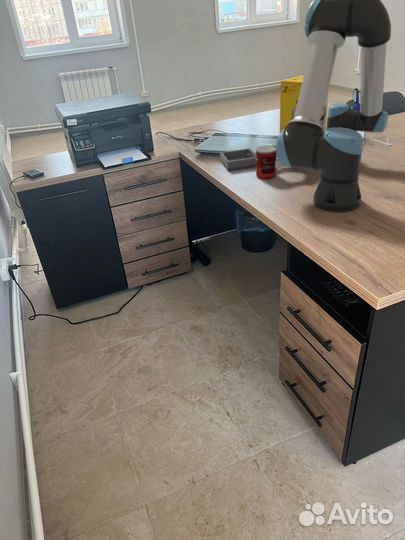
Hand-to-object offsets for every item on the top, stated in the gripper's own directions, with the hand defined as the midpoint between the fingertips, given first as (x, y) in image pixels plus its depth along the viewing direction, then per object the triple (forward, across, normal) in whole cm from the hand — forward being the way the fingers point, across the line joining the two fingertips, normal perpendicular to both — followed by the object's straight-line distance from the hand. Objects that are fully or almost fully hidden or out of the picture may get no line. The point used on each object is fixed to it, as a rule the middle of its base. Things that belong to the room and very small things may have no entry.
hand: (267, 159), depth 156 cm
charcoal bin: (+4, +18, -6) cm, 20 cm away
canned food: (+1, 0, -7) cm, 7 cm away
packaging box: (-43, +43, -7) cm, 61 cm away
